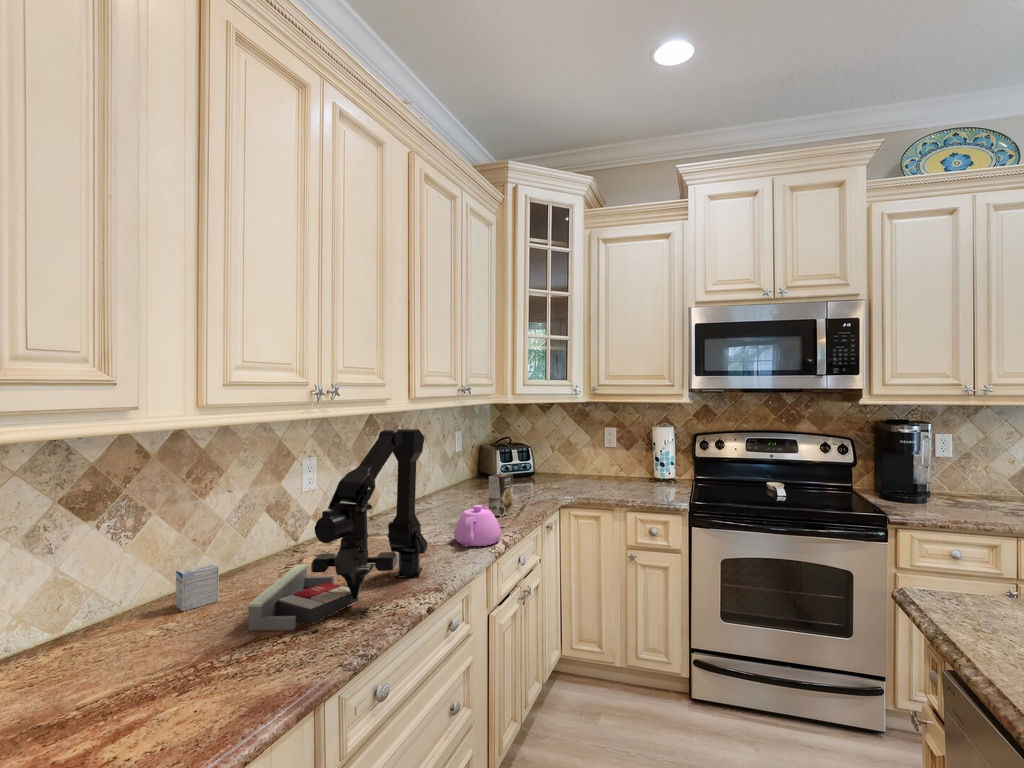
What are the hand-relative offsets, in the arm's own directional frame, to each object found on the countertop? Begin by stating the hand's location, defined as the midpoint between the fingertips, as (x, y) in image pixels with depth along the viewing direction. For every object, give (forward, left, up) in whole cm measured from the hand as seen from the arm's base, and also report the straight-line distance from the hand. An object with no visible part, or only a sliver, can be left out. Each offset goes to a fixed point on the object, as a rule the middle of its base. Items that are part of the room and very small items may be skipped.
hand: (355, 598), depth 128 cm
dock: (0, -14, -2) cm, 14 cm away
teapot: (-54, +25, -2) cm, 60 cm away
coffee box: (-93, +32, -2) cm, 99 cm away
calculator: (+1, -8, -2) cm, 9 cm away
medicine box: (-1, -38, -2) cm, 38 cm away
